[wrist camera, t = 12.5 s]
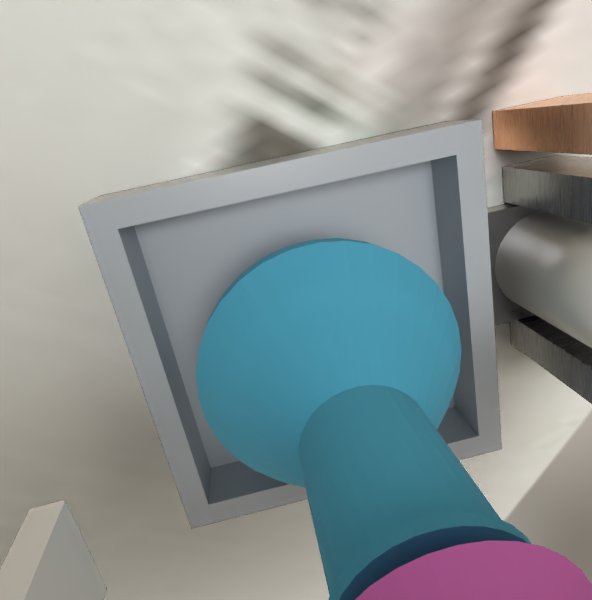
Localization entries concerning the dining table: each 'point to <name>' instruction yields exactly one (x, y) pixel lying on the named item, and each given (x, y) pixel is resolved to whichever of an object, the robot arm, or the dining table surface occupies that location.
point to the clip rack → (551, 199)
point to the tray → (272, 237)
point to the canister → (550, 271)
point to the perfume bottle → (364, 425)
